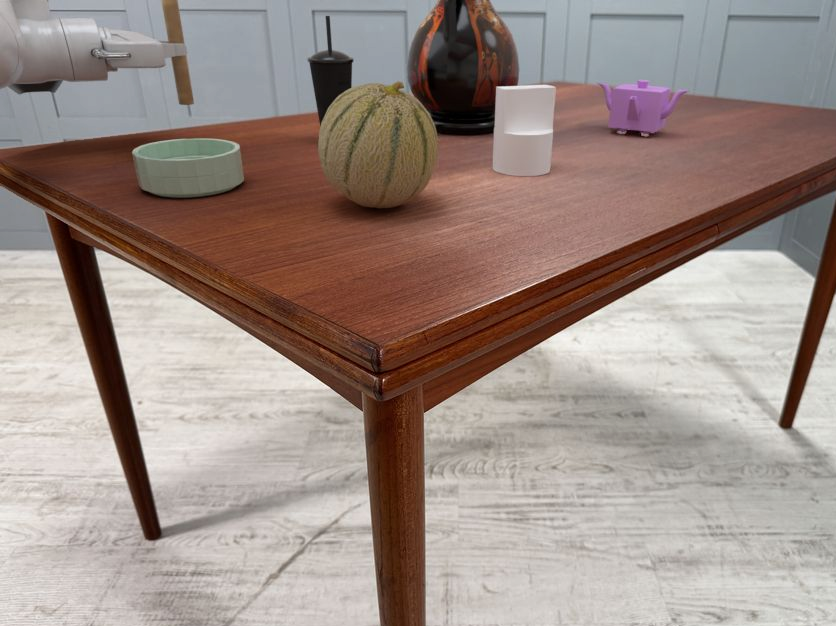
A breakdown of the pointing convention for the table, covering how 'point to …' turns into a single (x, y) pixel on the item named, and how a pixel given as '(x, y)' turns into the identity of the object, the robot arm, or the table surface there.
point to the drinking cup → (329, 74)
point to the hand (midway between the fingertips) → (183, 48)
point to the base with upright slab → (523, 130)
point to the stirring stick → (178, 62)
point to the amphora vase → (462, 65)
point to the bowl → (188, 167)
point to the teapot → (639, 106)
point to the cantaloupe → (378, 145)
